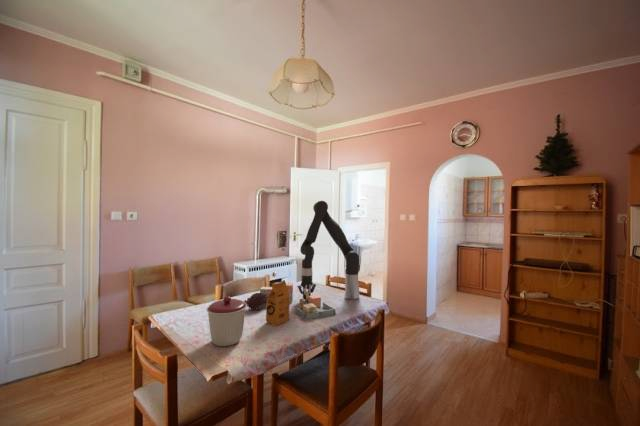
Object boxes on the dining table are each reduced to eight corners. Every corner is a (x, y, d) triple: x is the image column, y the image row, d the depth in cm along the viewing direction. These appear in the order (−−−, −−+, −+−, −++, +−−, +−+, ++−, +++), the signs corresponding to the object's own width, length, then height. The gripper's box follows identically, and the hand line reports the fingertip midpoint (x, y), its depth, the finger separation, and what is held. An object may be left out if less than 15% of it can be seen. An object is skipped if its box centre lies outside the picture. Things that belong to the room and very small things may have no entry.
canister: (252, 343, 127) (253, 298, 127) (211, 355, 117) (212, 305, 117) (239, 329, 142) (239, 289, 142) (202, 338, 132) (202, 294, 131)
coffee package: (263, 322, 151) (263, 282, 151) (278, 315, 162) (279, 278, 161) (276, 327, 146) (276, 285, 145) (291, 319, 156) (292, 281, 156)
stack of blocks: (259, 303, 184) (259, 284, 184) (261, 299, 190) (262, 282, 190) (291, 303, 183) (291, 285, 183) (292, 300, 190) (293, 282, 189)
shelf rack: (324, 306, 178) (324, 302, 178) (335, 314, 165) (335, 309, 165) (295, 311, 168) (295, 306, 168) (305, 319, 156) (305, 314, 156)
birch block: (304, 307, 175) (305, 298, 175) (316, 316, 161) (316, 306, 161) (296, 309, 173) (296, 299, 172) (307, 318, 158) (307, 308, 158)
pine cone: (265, 303, 182) (265, 288, 182) (273, 307, 175) (274, 292, 175) (240, 309, 170) (240, 293, 170) (248, 314, 163) (248, 297, 163)
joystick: (309, 299, 192) (309, 290, 192) (320, 306, 178) (320, 297, 178) (301, 300, 189) (302, 291, 189) (312, 308, 175) (312, 298, 175)
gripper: (313, 272, 196) (313, 296, 196) (295, 274, 189) (295, 299, 190) (318, 274, 189) (318, 299, 189) (299, 276, 183) (299, 302, 183)
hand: (306, 299), depth 190 cm, fingers closed on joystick, 2 cm apart
